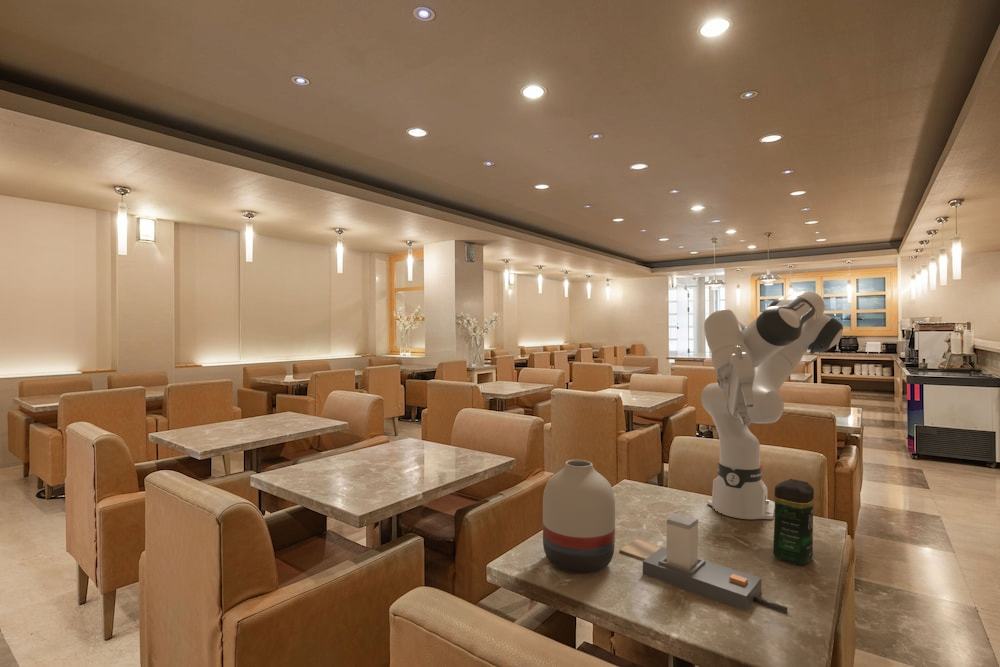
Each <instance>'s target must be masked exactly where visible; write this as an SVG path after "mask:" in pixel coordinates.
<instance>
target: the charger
mask: <svg viewBox="0 0 1000 667" xmlns="http://www.w3.org/2000/svg"><path fill="white" fill-rule="evenodd" d="M698 539H699V518H697V517H693V516H688V515H685V514H680V513H677V512H676V513H674V514H673V515H671V516H669V517H668V518H667V519H666V548H667V563H670V564H673V565H676V566H679V567H682V568H685V569H688V570H690V569H691V568H693V567H694V566H695V565H696V564H697V563H698V558H699V557H698V556H699V555H698V554H699V553H698V551H699V550H698V549H699V548H698V547H699V543H698V542H699V540H698Z"/></svg>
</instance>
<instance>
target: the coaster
mask: <svg viewBox="0 0 1000 667" xmlns="http://www.w3.org/2000/svg"><path fill="white" fill-rule="evenodd" d="M662 547H663V548H665V547H664V546H661V545H658V544H654V543H651V542H649V541H645V540H642V539H638V538H636V539H634V540H633V541H631V542H630V543H627V544H626V545H624V546H622V547H621V548H619V553H620V554H624V555H626V556H629V557H633V558H635V559H638V560H641V561H643V560H645V559H646V558H648V557H649V556H650V555H652V554H653V553H655V552H656V551H657V550H659V549H660V548H662Z"/></svg>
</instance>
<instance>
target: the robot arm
mask: <svg viewBox="0 0 1000 667" xmlns="http://www.w3.org/2000/svg"><path fill="white" fill-rule="evenodd" d="M825 306H826V305H825V301H824V299H823V298H822V296H821V295H819V294H818V293H816V292H814V291H810V290H802V291H797V292H795V293H792V294H790V295H788V296H786V297H778V298H776V299H774V300H772V301H771V303H769V305H767V307H766V308H765V310H764V311H762V312H761V313H760V314H759V315H758V316H757V317H756V318H755V319H753V321H751V322H750V323H749V324H748V325H745V324H743V323H742V322H740V321H739V320H738V318H737V316H736V314H735V313H734V312H733V311H732V310H731V309H730V308H723V309H719V310H717V311H714V312H712V313H711V314H710V315H709V316H708V317H707V318H706V319H705V320H704V328H703V329H704V335H705V340H706V343H707V346H708V349H709V350H710V351H711V360H712V363H713V364H712V365H713V368H714V370H715V371H714V372H715V375H716V377H717V382H711V383H708V384H707V385H706V386H705V387H704V388H703V389H702V391H701V394H700V402H701V405H702V407H703V410H705V411H706V412H707V414H709V415H710V417H711V419H712V422H713V423H714V425H715V429H716V431H717V435H718V443H719V462H718V464H717V477H715V478H714V479H713V480H712V494H711V495H712V496H711V499H708V500H707V502H706V504H707V503H708V504H709V505H711V506H713V507H712V509H713V510H714V509H715V510H714V511H716V512H717V511H718V512H717V513H719V514H721V513H722V514H721V515H725V516H727V517H730V518H735V519H741V520H742V519H743V520H773V519H774V517H775V511H774V510H775V501H773V500H770V499H768V487H767V485H766V484H765V482H764V481H763V472H762V471H763V464H761V463H760V461H761V460H760V459H761V458H760V454H761V453H760V452H761V451H760V450H761V448H760V447H761V444H760V441H759V439H758V438H757V437H756V435H754V434H753V433H752V432H751V430H750V428H748V426H750V425H751V423H752V424H773V423H776V422H778V421H779V420H780V419H781V417H782V415H783V413H784V410H785V409H784V408H785V404H784V400H783V398H782V395H781V394H780V393H779V390H780V388H781V387H782V386H783V384H784V383H785V382H786V380H787V379H788V378H789V377H790V376H791V375H792V374H793V373H794V371H795V370H796V369H797V367H798V366H799V364H800V362H801V360H802V359H803V357H804V354H805V353H806V351H809V354H810V355H814V354H815V353H822V352H826V351H828V350H831V349H832V347H834V346H836V345H837V344H838V343H839V342H840V340H841V339H842V335H843V330H844V327H843V324H842V323H841V322H840V321H839V320H838V319H836V318H835V317H831V316H829V315H827V314H825V313H824V311H825ZM708 504H707V505H708ZM709 505H708V506H709ZM711 506H710V507H711ZM773 516H774V517H773Z"/></svg>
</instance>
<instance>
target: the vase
mask: <svg viewBox="0 0 1000 667" xmlns="http://www.w3.org/2000/svg"><path fill="white" fill-rule="evenodd" d="M542 496H543V498H542V544H543V551H544V553H545V556H546V558H547V561H549V563H550V564H552V565H553V566H554V567H556V568H557V569H559V570H562V571H565V572H567V573H572V574H581V575H582V574H583V575H585V574H594V573H597V572H600V571H602V570H604V569H605V568H606V567H608V566H609V564H610V563H611V561H612V559H613V556H614V553H615V545H616V544H615V543H616V542H615V540H616V499H615V498H616V497H615V493H614V490H613V487H612V485H611V483H610V482H609V481H608V480H607V479H606V478H605V476H603V475H602V474H601V473H599V472H598V471H597V470H596V469H595V468H594V465H593V463H592V462H591V461H589V460H584V459H571V460H570V459H569V460H566V462H565V464H564V467H563V468H562V469H560V470H558V471H557V472H556V473H554V474H553V475H552V476H551V477H550V478H549V479H548V481H547V482H546V484H545V487H544V490H543V495H542Z"/></svg>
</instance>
